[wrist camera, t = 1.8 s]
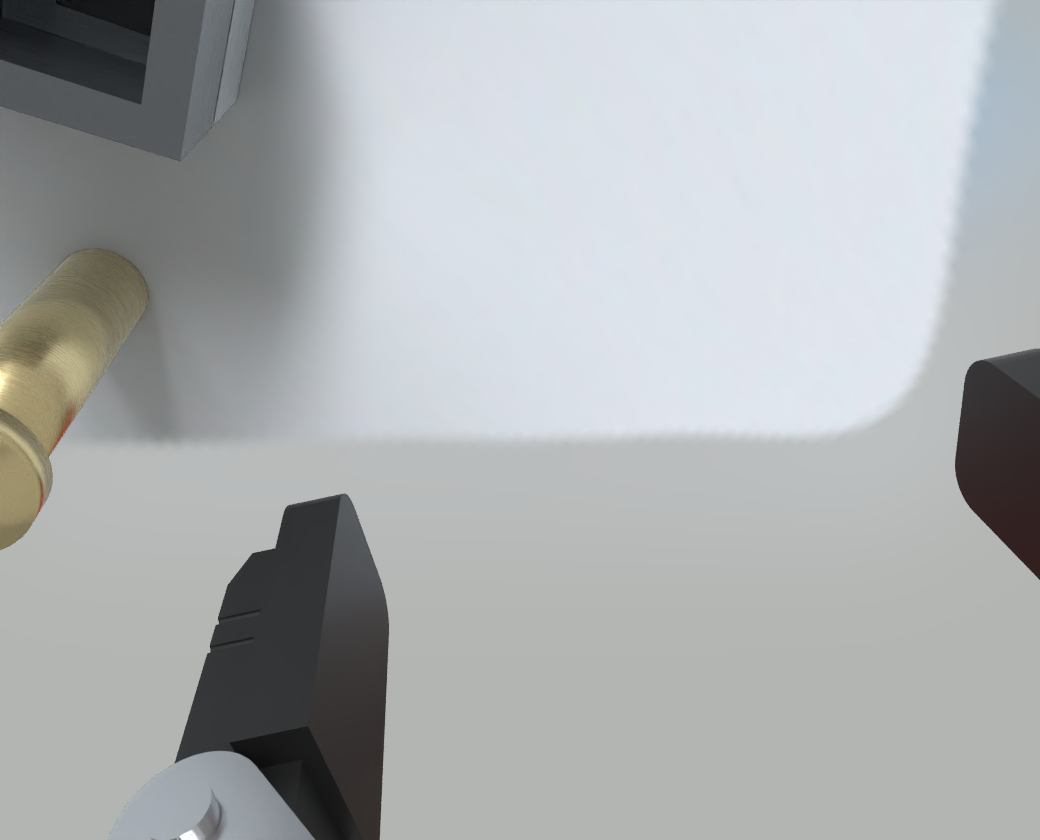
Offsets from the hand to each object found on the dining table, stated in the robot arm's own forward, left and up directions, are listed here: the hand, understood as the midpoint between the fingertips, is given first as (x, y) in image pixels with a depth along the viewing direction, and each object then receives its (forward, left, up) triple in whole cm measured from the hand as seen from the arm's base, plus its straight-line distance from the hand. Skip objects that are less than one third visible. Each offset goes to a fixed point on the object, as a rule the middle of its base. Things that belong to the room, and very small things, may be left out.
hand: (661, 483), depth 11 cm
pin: (-12, -9, -20) cm, 25 cm away
